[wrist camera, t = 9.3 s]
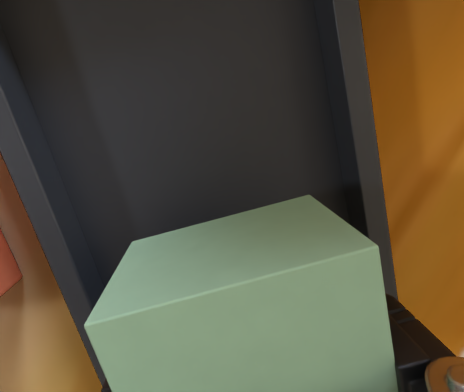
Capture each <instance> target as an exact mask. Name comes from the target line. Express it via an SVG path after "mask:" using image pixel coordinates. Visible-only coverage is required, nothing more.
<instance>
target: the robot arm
mask: <svg viewBox="0 0 464 392" xmlns="http://www.w3.org/2000/svg"><path fill="white" fill-rule="evenodd" d="M385 295H386V302H387V310H388V317H389V324H390V331H391V338H392V345H393V352H394V359H395V363H394V364H395V371H396V378H397V385H398V392H464V358H463V357H457V356H455V355H454V354H453V353H452V352H451V351H450V350H449V349H448V348H447V347H446V346H445V345H444V344H443V343H442V342H441V341H440V340H439V339H438V338H437V337H435V336H434V335H433V334H432V333H431V332H430V331H429V330H428V329H427V328H426V327H425V326H424V325H423V324H422V323H421V322H420V321H419V320H418V319H415V317H414V316H413V315H412V314H411V313H410V312H409V311H408V310H406V309H405V307H404V306H403V305H402V304H401V303H400V302H399V301H398V300H397V299H395V298H394V297H393V296H391V295H389V294H387V293H385ZM101 392H112V391H111V389H110V386H109V384H108V382H107V379H105V382H104V384H103V387H102V390H101Z"/></svg>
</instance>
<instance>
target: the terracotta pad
mask: <svg viewBox="0 0 464 392" xmlns="http://www.w3.org/2000/svg"><path fill="white" fill-rule="evenodd" d="M21 278H22V274H21V272H20V270H19V268H18V266H17V263H16V261H15V259H14V257H13V255H12V253H11V250H10V248H9V246H8V244H7V242H6V240H5V237H4V235H3V233H2V231H1V229H0V297H1V296H2V295H3V294H4V293H5V292H7V291H8V290H9V289H10V288H11V287H12V286H13V285H14V284H15V283H17V282H18V281H19V280H20V279H21Z"/></svg>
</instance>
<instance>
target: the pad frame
mask: <svg viewBox="0 0 464 392" xmlns="http://www.w3.org/2000/svg"><path fill="white" fill-rule="evenodd" d="M0 152H1V155H2V157H3V159H4V161H5V164H6V166H7V168H8V171H9V173H10V175H11V178H12V180H13V182H14V184H15V187H16V189H17V191H18V194H19V196H20V198H21V201H22V203H23V205H24V207H25V210H26V212H27V214H28V217H29V219H30V221H31V224H32V226H33V228H34V231H35V233H36V235H37V237H38V240H39V242H40V244H41V247H42V249H43V251H44V254H45V256H46V258H47V260H48V263H49V265H50V267H51V270H52V272H53V274H54V277H55V279H56V281H57V283H58V286H59V288H60V290H61V293H62V295H63V297H64V300H65V302H66V304H67V306H68V309H69V311H70V313H71V316H72V318H73V320H74V323H75V325H76V327H77V329H78V332H79V334H80V336H81V339H82V341H83V343H84V346H85V348H86V350H87V352H88V355H89V357H90V359H91V362H92V364H93V366H94V369H95V371H96V373H97V375H98V378H99V380H100V382H101V385H102V387H103V384H104V382H105V379H106V377H105V375H104V372H103V370H102V368H101V365H100V363H99V361H98V358H97V356H96V354H95V351H94V349H93V347H92V344H91V342H90V340H89V337H88V335H87V333H86V330H85V328H84V324H85V322H86V320H87V319H88V317H89V315H90V314H91V312H92V310H93V308H94V307H95V305H96V303H97V301H98V300H99V298H100V296H101V294H102V293H103V291H104V289H105V287H106V286H107V284H108V282H109V281H110V279H111V277H112V275H113V274H114V272H115V270H116V268H117V267H118V265H119V263H120V261H121V260H122V258H123V256H124V255H125V253H126V251H127V249H128V248H129V246H130V244H131V242H133V241H136V240H140V239H144V238H147V237H151V236H155V235H159V234H162V233H166V232H170V231H174V230H177V229H181V228H185V227H189V226H192V225H196V224H200V223H204V222H208V221H211V220H215V219H219V218H223V217H226V216H230V215H234V214H238V213H241V212H245V211H249V210H253V209H257V208H260V207H264V206H268V205H272V204H275V203H279V202H283V201H287V200H290V199H294V198H298V197H302V196H306V195H311V196H312V197H313V198H315V199H316V200H317V201H319V202H320V203H321V204H323V205H324V206H325V207H327V208H328V209H329V210H331V211H332V212H333V213H335V214H336V215H337V216H339V217H340V218H341V219H343V220H344V221H346V222H347V223H348V224H350V225H351V226H352V227H354V228H355V229H356V230H358V231H359V232H360V233H362V234H363V235H364V236H366V237H367V238H368V239H370V240H371V241H372V242H374V243H375V244H376V245H378V247H379V253H380V260H381V267H382V274H383V281H384V288H385V293H387V294H389V295H391V296H393V297H394V298H395V299H397V300H398V297H397V290H396V282H395V275H394V267H393V259H392V252H391V244H390V237H389V229H388V221H387V214H386V206H385V199H384V191H383V183H382V176H381V168H380V161H379V153H378V146H377V138H376V130H375V123H374V115H373V108H372V100H371V92H370V85H369V77H368V70H367V62H366V55H365V47H364V39H363V32H362V24H361V17H360V9H359V1H358V0H0Z"/></svg>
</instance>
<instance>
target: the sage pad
mask: <svg viewBox="0 0 464 392" xmlns="http://www.w3.org/2000/svg"><path fill="white" fill-rule="evenodd" d="M84 328H85V330H86V333H87V335H88V337H89V340H90V342H91V344H92V347H93V349H94V351H95V354H96V356H97V358H98V361H99V363H100V365H101V368H102V370H103V372H104V375H105V377H106V379H107V382H108V384H109V386H110V389H111V391H112V392H398V385H397V378H396V371H395V364H394V363H395V359H394V352H393V345H392V338H391V331H390V324H389V317H388V310H387V302H386V295H385V288H384V281H383V274H382V267H381V260H380V253H379V247H378V245H376V244H375V243H374V242H372V241H371V240H370V239H368V238H367V237H366V236H364V235H363V234H362V233H360V232H359V231H358V230H356V229H355V228H354V227H352V226H351V225H350V224H348V223H347V222H346V221H344V220H343V219H341V218H340V217H339V216H337V215H336V214H335V213H333V212H332V211H331V210H329V209H328V208H327V207H325V206H324V205H323V204H321V203H320V202H319V201H317V200H316V199H315V198H313V197H312V196H311V195H306V196H302V197H298V198H294V199H290V200H287V201H283V202H279V203H275V204H272V205H268V206H264V207H260V208H257V209H253V210H249V211H245V212H241V213H238V214H234V215H230V216H226V217H223V218H219V219H215V220H211V221H208V222H204V223H200V224H196V225H192V226H189V227H185V228H181V229H177V230H174V231H170V232H166V233H162V234H159V235H155V236H151V237H147V238H144V239H140V240H136V241H133V242H131V244H130V246H129V248H128V249H127V251H126V253H125V255H124V256H123V258H122V260H121V261H120V263H119V265H118V267H117V268H116V270H115V272H114V274H113V275H112V277H111V279H110V281H109V282H108V284H107V286H106V287H105V289H104V291H103V293H102V294H101V296H100V298H99V300H98V301H97V303H96V305H95V307H94V308H93V310H92V312H91V314H90V315H89V317H88V319H87V320H86V322H85V324H84Z"/></svg>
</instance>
